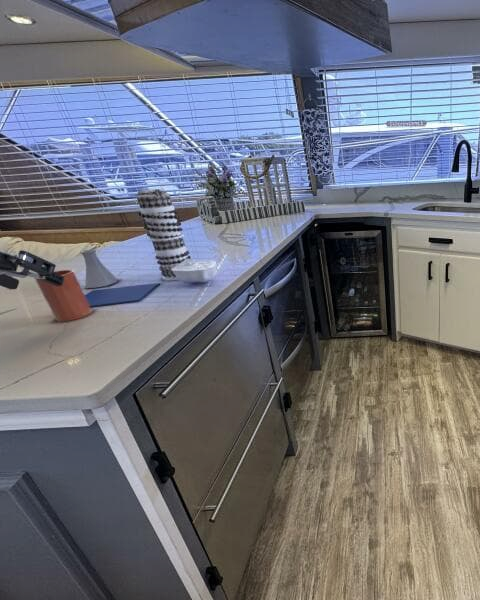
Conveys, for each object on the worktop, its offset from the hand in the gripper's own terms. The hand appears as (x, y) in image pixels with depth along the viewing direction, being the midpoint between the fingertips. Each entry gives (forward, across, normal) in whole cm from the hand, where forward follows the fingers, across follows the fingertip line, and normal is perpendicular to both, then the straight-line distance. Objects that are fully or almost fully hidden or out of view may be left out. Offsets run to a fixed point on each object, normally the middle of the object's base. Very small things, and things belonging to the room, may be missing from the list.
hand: (38, 283), depth 66 cm
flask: (+26, +10, -12) cm, 30 cm away
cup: (+9, 0, +4) cm, 10 cm away
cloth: (+17, -1, -4) cm, 18 cm away
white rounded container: (+22, -19, -9) cm, 31 cm away
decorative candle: (+28, -10, -14) cm, 33 cm away
